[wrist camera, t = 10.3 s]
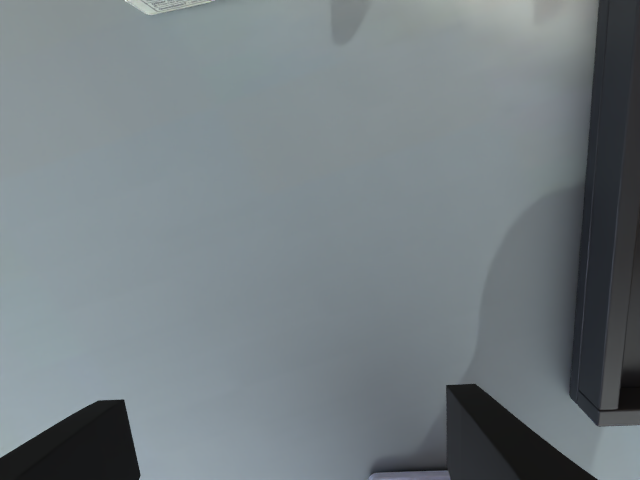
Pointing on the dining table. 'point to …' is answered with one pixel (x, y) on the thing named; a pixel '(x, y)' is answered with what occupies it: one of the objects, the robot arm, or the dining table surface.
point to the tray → (611, 229)
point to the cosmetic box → (164, 5)
